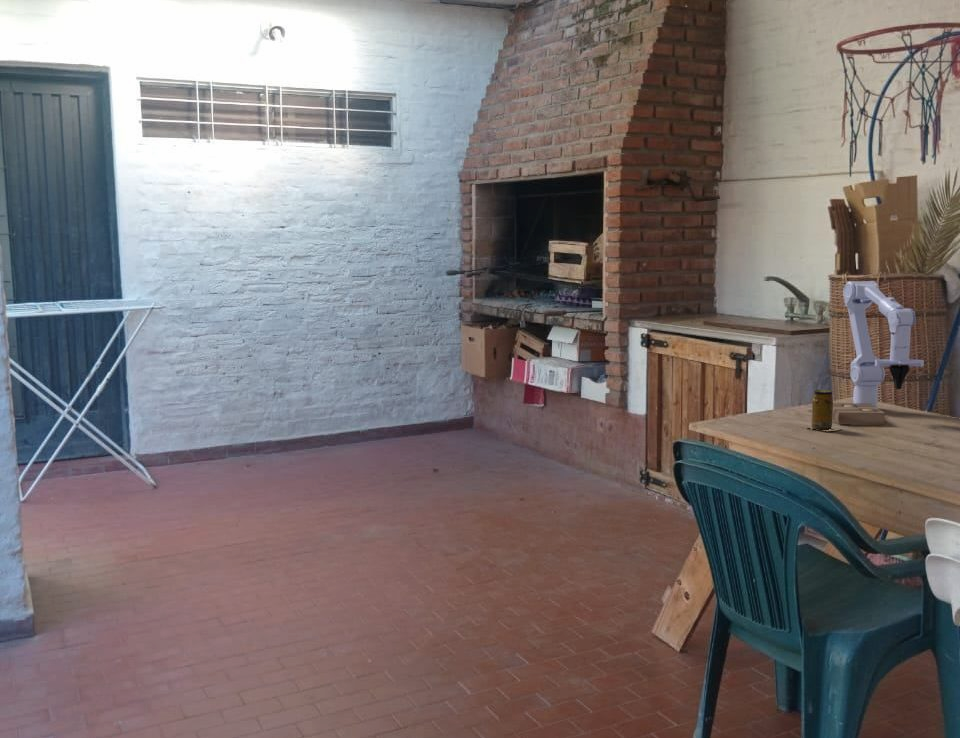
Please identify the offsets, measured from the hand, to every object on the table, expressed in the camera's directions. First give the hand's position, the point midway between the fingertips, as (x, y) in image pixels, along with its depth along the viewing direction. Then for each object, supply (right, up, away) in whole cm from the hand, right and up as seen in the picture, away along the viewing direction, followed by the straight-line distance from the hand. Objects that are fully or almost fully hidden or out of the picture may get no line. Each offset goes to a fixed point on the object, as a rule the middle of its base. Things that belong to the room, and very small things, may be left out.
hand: (897, 388), depth 320 cm
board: (-13, -10, +3) cm, 17 cm away
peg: (-14, -10, +6) cm, 18 cm away
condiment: (-27, -13, -10) cm, 32 cm away
